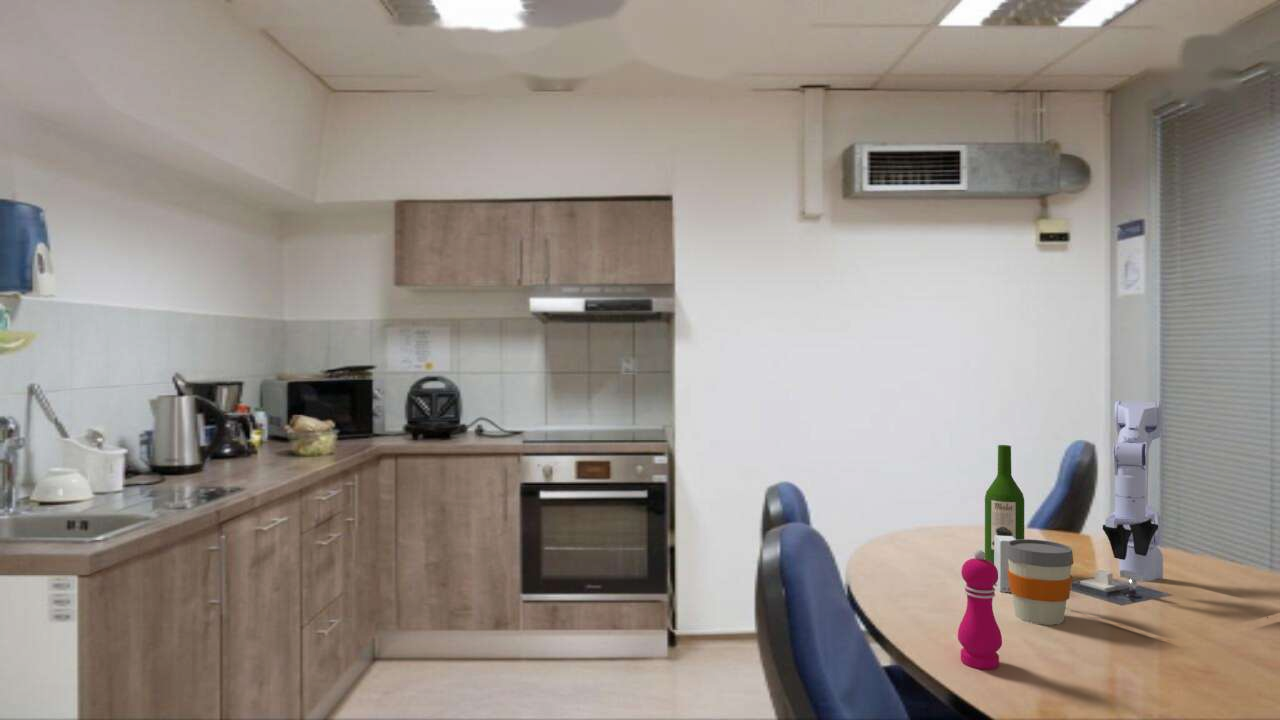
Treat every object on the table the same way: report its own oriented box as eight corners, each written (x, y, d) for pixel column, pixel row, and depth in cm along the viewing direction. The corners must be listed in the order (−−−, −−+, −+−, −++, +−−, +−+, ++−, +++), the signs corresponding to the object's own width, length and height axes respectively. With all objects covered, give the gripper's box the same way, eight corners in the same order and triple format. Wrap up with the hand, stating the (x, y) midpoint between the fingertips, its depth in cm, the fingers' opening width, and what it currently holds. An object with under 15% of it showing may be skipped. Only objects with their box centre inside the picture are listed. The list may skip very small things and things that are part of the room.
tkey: (1114, 587, 175) (1114, 567, 175) (1146, 596, 169) (1146, 575, 169) (1110, 588, 174) (1110, 568, 174) (1142, 597, 168) (1142, 576, 168)
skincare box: (1019, 593, 176) (1019, 541, 176) (1000, 592, 177) (1000, 540, 177) (1012, 585, 182) (1012, 535, 182) (993, 584, 183) (993, 534, 183)
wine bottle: (985, 578, 188) (985, 446, 188) (984, 569, 196) (984, 443, 196) (1026, 582, 185) (1026, 448, 185) (1022, 573, 193) (1022, 444, 193)
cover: (1102, 582, 181) (1102, 566, 181) (1127, 589, 176) (1127, 573, 176) (1080, 586, 178) (1080, 570, 178) (1105, 593, 172) (1105, 577, 172)
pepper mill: (950, 655, 139) (950, 545, 139) (988, 654, 139) (988, 544, 139) (970, 671, 132) (970, 555, 132) (1010, 670, 132) (1010, 554, 132)
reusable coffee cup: (1047, 632, 151) (1047, 556, 151) (992, 613, 162) (992, 542, 162) (1087, 622, 157) (1087, 549, 157) (1031, 604, 168) (1031, 536, 168)
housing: (1103, 581, 186) (1103, 573, 186) (1173, 600, 171) (1173, 591, 171) (1053, 590, 178) (1053, 582, 178) (1121, 610, 164) (1121, 601, 164)
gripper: (1132, 490, 177) (1132, 549, 177) (1092, 495, 171) (1092, 556, 171) (1164, 495, 171) (1164, 556, 171) (1123, 500, 165) (1123, 563, 165)
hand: (1130, 556), depth 171 cm, fingers open, 7 cm apart
